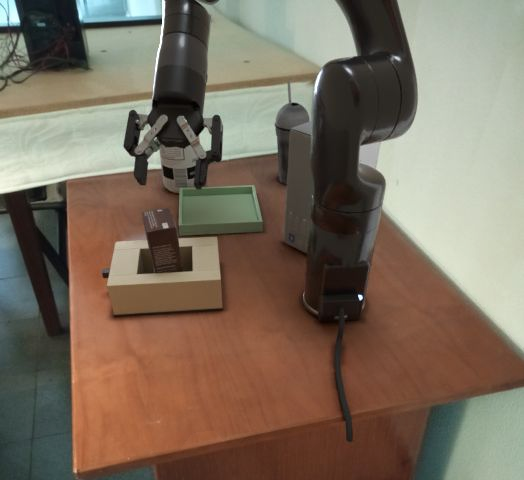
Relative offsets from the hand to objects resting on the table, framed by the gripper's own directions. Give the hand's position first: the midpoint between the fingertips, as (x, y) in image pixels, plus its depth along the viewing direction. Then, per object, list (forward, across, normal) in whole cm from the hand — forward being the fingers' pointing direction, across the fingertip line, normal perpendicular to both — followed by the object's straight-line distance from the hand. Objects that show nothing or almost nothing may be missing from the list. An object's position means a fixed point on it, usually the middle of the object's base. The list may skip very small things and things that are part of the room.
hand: (169, 185), depth 73 cm
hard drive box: (0, +24, +20) cm, 31 cm away
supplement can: (-11, -7, +32) cm, 34 cm away
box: (+14, 0, +6) cm, 15 cm away
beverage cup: (-16, +15, +36) cm, 42 cm away
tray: (-4, +3, +24) cm, 24 cm away
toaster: (+14, 0, +6) cm, 16 cm away
